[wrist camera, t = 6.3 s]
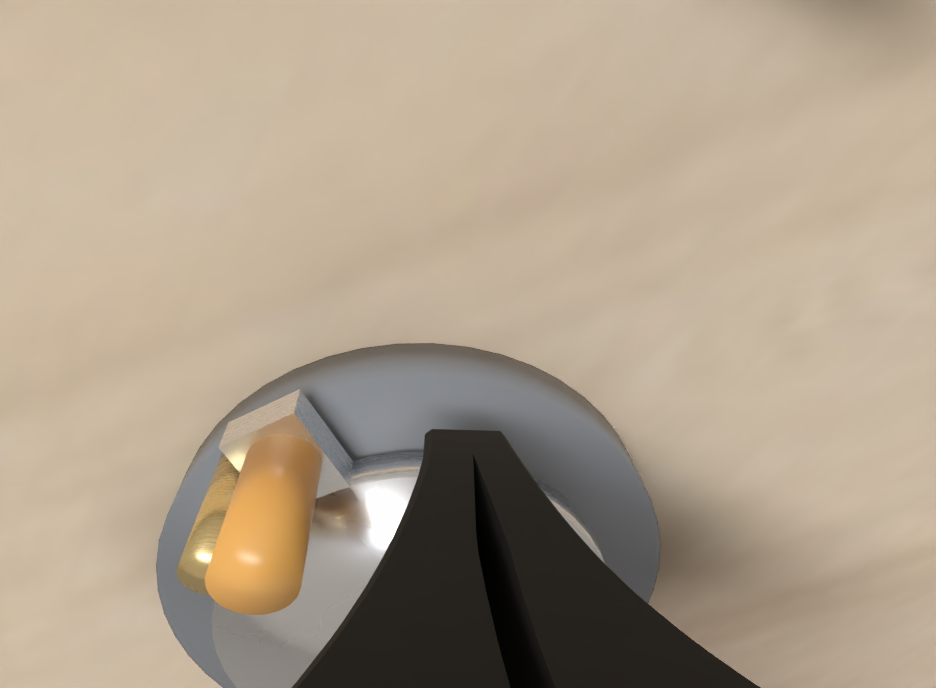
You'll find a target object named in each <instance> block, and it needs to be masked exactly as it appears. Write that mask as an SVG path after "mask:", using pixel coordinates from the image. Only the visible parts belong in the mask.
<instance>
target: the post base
mask: <svg viewBox="0 0 936 688" xmlns="http://www.w3.org/2000/svg"><path fill="white" fill-rule="evenodd" d="M299 389H301V391H302V392H303V394H304V395H305V396H306V398H307V399H308V400H309V402H310V403H311V405H312V406H313V407H314V409H315V410H316V411H317V413H318V414H319V415H320V417H321V418H322V420H323V421H324V422H325V424H326V425H327V426H328V428H329V429H330V431H331V432H332V433H333V435H334V436H335V437H336V439H337V440H338V442H339V443H340V444H341V446H342V447H343V448H344V450H345V451H346V452H347V454H348V455H349V457H350V458H351V459H352V461H356V460H360V459H363V458H367V457H372V456H379V455H385V454H392V453H400V452H423V450H424V438H425V434H426V433H427V432H428V431H430V430H431V429H451V430H487V431H501V432H502V434H503V435H504V436H505V437H506V439H507V440H508V442H509V443H510V445H511V446H512V448H513V449H514V451H515V452H516V454H517V455H518V457H519V458H520V460H521V461H522V463H523V464H524V466H525V467H526V469H527V470H528V471H529V473H530V474H531V475H532V476H534V477H535V478H537V479H539V480H540V481H542V482H544V483H545V484H547V485H549V486H550V487H552V488H553V489H555V490H556V491H557V492H558V493H559V494H561V495H562V496H563V497H564V498H566V499H567V500H568V501H569V502H570V503H571V504H572V505H573V506H574V507H575V508H576V509H577V511H578V512H579V513H580V514H581V515H582V516H583V517H584V519H585V521H586V522H587V524H588V525H589V527H590V528H591V530H592V531H593V533H594V536H595V538H596V541H597V543H598V545H599V548H600V550H601V553H602V556H603V559H604V562H605V564H606V565H607V566H608V567H609V568H610V569H611V570H612V571H613V572H614V573H615V574H616V575H617V576H618V577H619V578H620V579H621V580H622V581H623V582H624V583H625V584H626V585H627V586H628V587H629V588H630V589H632V590H633V591H634V592H635V593H636V594H637V595H638V596H639V597H641V598H642V599H643V600H644V601H645V602H646V603H647V604H648V602H649V599H650V597H651V595H652V592H653V590H654V586H655V582H656V577H657V573H658V569H659V557H660V539H659V530H658V522H657V519H656V515H655V512H654V509H653V506H652V503H651V499H650V497H649V495H648V493H647V491H646V489H645V487H644V485H643V483H642V481H641V479H640V477H639V475H638V472H637V470H636V468H635V466H634V464H633V462H632V460H631V458H630V456H629V454H628V452H627V451H626V449H625V447H624V445H623V443H622V441H621V439H620V437H619V436H618V434H617V433H616V432H615V430H614V429H613V428H612V426H611V425H610V424H609V422H608V421H607V420H606V418H605V417H604V416H603V415H602V414H601V413H600V412H599V411H598V410H597V409H596V408H595V407H594V406H593V405H592V404H591V403H590V402H589V401H587V400H586V399H585V398H584V397H583V396H582V395H580V394H579V393H577V392H576V391H575V390H573V389H572V388H570V387H569V386H568V385H566V384H565V383H563V382H562V381H560V380H559V379H557V378H555V377H553V376H551V375H549V374H547V373H545V372H543V371H541V370H539V369H537V368H536V367H534V366H531V365H529V364H526V363H523V362H520V361H518V360H515V359H512V358H509V357H507V356H504V355H501V354H496V353H492V352H487V351H483V350H479V349H474V348H470V347H462V346H452V345H443V344H433V343H432V344H393V345H385V346H377V347H369V348H361V349H357V350H353V351H349V352H345V353H341V354H337V355H333V356H329V357H326V358H323V359H320V360H318V361H315V362H313V363H310V364H307V365H305V366H302V367H299V368H297V369H294V370H292V371H290V372H289V373H287V374H285V375H283V376H281V377H279V378H277V379H275V380H273V381H272V382H270V383H268V384H266V385H264V386H263V387H262V388H260V389H259V390H257V391H256V392H255V393H253V394H252V395H250V396H249V397H248V398H246V399H245V400H243V401H242V402H241V403H239V404H238V405H237V406H236V407H235V408H234V409H233V410H232V411H231V412H230V413H229V414H228V415H227V416H226V417H224V418H223V419H222V420H221V421H220V422H219V423H218V424H217V425H216V427H215V428H214V429H213V431H212V432H211V433H210V435H209V436H208V437H207V438H206V440H205V441H204V442H203V444H202V445H201V446H200V448H199V450H198V452H197V453H196V455H195V457H194V459H193V461H192V463H191V465H190V467H189V468H188V470H187V472H186V475H185V477H184V479H183V481H182V484H181V486H180V488H179V490H178V492H177V495H176V497H175V499H174V501H173V504H172V506H171V508H170V510H169V512H168V515H167V518H166V521H165V524H164V527H163V530H162V533H161V536H160V539H159V546H158V554H157V562H156V571H157V585H158V592H159V596H160V600H161V603H162V607H163V611H164V614H165V616H166V618H167V620H168V623H169V625H170V627H171V629H172V631H173V633H174V635H175V637H176V638H177V640H178V641H179V642H180V644H181V645H182V647H183V648H184V650H185V651H186V652H187V654H188V655H189V656H190V657H191V659H192V660H193V661H194V662H195V663H196V664H197V665H198V666H199V667H200V668H201V669H202V670H203V671H204V672H205V673H206V674H207V675H208V676H209V677H211V678H212V679H213V680H214V681H216V682H217V683H218V684H219V685H221V686H222V687H223V688H236V687H235V685H234V684H233V682H232V681H231V680H230V678H229V677H228V675H227V674H226V672H225V671H224V669H223V667H222V665H221V662H220V660H219V658H218V656H217V653H216V649H215V645H214V641H213V637H212V619H211V618H212V612H213V605H214V599H213V598H212V597H211V596H210V595H209V593H208V591H207V589H206V585H205V575H206V572H207V569H208V566H209V563H210V560H211V557H212V554H213V551H214V548H215V545H216V542H217V539H218V536H219V533H220V531H221V528H222V525H223V522H224V519H225V516H226V513H227V510H228V507H229V504H230V501H231V498H232V495H233V492H234V489H235V486H236V483H237V480H238V477H239V474H240V472H239V471H238V470H237V469H236V468H235V466H234V465H233V464H232V463H231V462H230V461H229V459H228V458H227V457H226V456H225V455H224V454H223V452H222V451H221V450H220V449H219V448H218V447H219V445H220V442H221V440H222V437H223V435H224V432H225V430H226V428H227V425H228V423H229V422H230V421H233V420H235V419H237V418H239V417H241V416H243V415H245V414H248V413H250V412H252V411H254V410H256V409H258V408H260V407H263V406H265V405H267V404H269V403H271V402H273V401H275V400H278V399H280V398H282V397H284V396H286V395H288V394H290V393H293V392H295V391H297V390H299Z"/></svg>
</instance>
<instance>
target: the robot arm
mask: <svg viewBox="0 0 936 688" xmlns="http://www.w3.org/2000/svg"><path fill="white" fill-rule="evenodd" d="M292 688H760V687H758V686H757V685H755V684H754V683H752V682H751V681H749V680H748V679H746V678H745V677H744V676H742V675H741V674H739V673H738V672H736V671H735V670H734V669H732V668H731V667H729V666H728V665H726V664H725V663H724V662H722V661H721V660H719V659H718V658H716V657H715V656H714V655H712V654H711V653H709V652H708V651H707V650H705V649H704V648H703V647H701V646H700V645H699V644H697V643H696V642H695V641H693V640H692V639H691V638H689V637H688V636H687V635H685V634H684V633H683V632H682V631H680V630H679V629H678V628H677V627H675V626H674V625H673V624H672V623H671V622H669V621H668V620H667V619H666V618H664V617H663V616H662V615H661V614H659V613H658V612H657V611H656V610H655V609H653V608H652V607H651V606H650V605H649V604H647V603H646V602H645V601H644V600H643V599H642V598H641V597H639V596H638V595H637V594H636V593H635V592H634V591H633V590H632V589H630V588H629V587H628V586H627V585H626V584H625V583H624V582H623V581H622V580H621V579H620V578H619V577H618V576H617V575H616V574H615V573H614V572H613V571H612V570H611V569H610V568H609V567H608V566H607V565H606V564H605V563H604V562H603V561H602V560H601V559H600V558H599V557H598V556H597V555H596V554H595V553H594V552H593V551H592V550H591V549H590V547H589V546H588V545H587V544H586V543H585V542H584V541H583V540H582V538H581V537H580V536H579V535H578V534H577V533H576V532H575V530H574V529H573V528H572V527H571V526H570V525H569V523H568V522H567V521H566V520H565V519H564V517H563V516H562V515H561V514H560V512H559V511H558V510H557V509H556V507H555V506H554V505H553V503H552V502H551V501H550V500H549V498H548V497H547V496H546V495H545V493H544V492H543V491H542V489H541V488H540V487H539V485H538V484H537V483H536V481H535V480H534V478H533V477H532V476H531V474H530V473H529V471H528V470H527V469H526V467H525V466H524V464H523V463H522V461H521V460H520V458H519V457H518V455H517V454H516V452H515V451H514V449H513V448H512V446H511V445H510V443H509V442H508V440H507V439H506V437H505V436H504V435H503V434H502V432H501V431H487V430H451V429H431V430H430V431H428V432H427V433H426V434H425V438H424V450H423V460H422V464H421V467H420V471H419V474H418V478H417V481H416V483H415V486H414V489H413V492H412V494H411V497H410V500H409V502H408V505H407V508H406V510H405V512H404V514H403V517H402V519H401V521H400V523H399V525H398V527H397V529H396V532H395V534H394V536H393V538H392V540H391V542H390V544H389V546H388V548H387V550H386V552H385V554H384V556H383V558H382V559H381V561H380V563H379V565H378V567H377V568H376V570H375V572H374V573H373V575H372V577H371V578H370V580H369V582H368V584H367V585H366V587H365V588H364V590H363V592H362V593H361V595H360V596H359V598H358V599H357V601H356V602H355V604H354V605H353V607H352V608H351V610H350V611H349V613H348V614H347V616H346V618H345V619H344V620H343V622H342V623H341V625H340V626H339V627H338V629H337V630H336V632H335V633H334V634H333V636H332V637H331V639H330V640H329V641H328V642H327V644H326V645H325V646H324V647H323V649H322V650H321V651H320V653H319V654H318V655H317V656H316V658H315V659H314V660H313V661H312V663H311V664H310V665H309V667H308V668H307V669H306V670H305V672H304V673H303V674H302V675H301V677H300V678H299V679H298V680H297V682H296V683H295V684H294V685H293V686H292Z"/></svg>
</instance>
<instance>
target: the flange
mask: <svg viewBox="0 0 936 688" xmlns="http://www.w3.org/2000/svg"><path fill="white" fill-rule="evenodd" d="M218 448H219V449H220V450H221V451H222V452H223V454H224V455H225V456H226V457H227V458H228V459H229V461H230V462H231V463H232V464H233V465H234V466H235V468H236V469H237V470H238V471H239V472H240V474H239V477H238V480H237V483H236V486H235V489H234V492H233V495H232V498H231V501H230V504H229V507H228V510H227V513H226V516H225V519H224V522H223V525H222V528H221V531H220V533H219V536H218V539H217V542H216V545H215V548H214V551H213V554H212V557H211V560H210V563H209V566H208V569H207V572H206V575H205V585H206V589H207V591H208V593H209V595H210V596H211V597H212V598H213V599H214V605H213V612H212V618H211V619H212V637H213V641H214V645H215V649H216V653H217V656H218V658H219V660H220V662H221V665H222V667H223V669H224V671H225V672H226V674H227V675H228V677H229V678H230V680H231V681H232V682H233V684H234V685H235V687H236V688H292V686H293V685H294V684H295V683H296V682H297V680H298V679H299V678H300V677H301V675H302V674H303V673H304V672H305V670H306V669H307V668H308V667H309V665H310V664H311V663H312V661H313V660H314V659H315V658H316V656H317V655H318V654H319V653H320V651H321V650H322V649H323V647H324V646H325V645H326V644H327V642H328V641H329V640H330V639H331V637H332V636H333V634H334V633H335V632H336V630H337V629H338V627H339V626H340V625H341V623H342V622H343V620H344V619H345V618H346V616H347V614H348V613H349V611H350V610H351V608H352V607H353V605H354V604H355V602H356V601H357V599H358V598H359V596H360V595H361V593H362V592H363V590H364V588H365V587H366V585H367V584H368V582H369V580H370V578H371V577H372V575H373V573H374V572H375V570H376V568H377V567H378V565H379V563H380V561H381V559H382V558H383V556H384V554H385V552H386V550H387V548H388V546H389V544H390V542H391V540H392V538H393V536H394V534H395V532H396V529H397V527H398V525H399V523H400V521H401V519H402V517H403V514H404V512H405V510H406V508H407V505H408V502H409V500H410V497H411V494H412V492H413V489H414V486H415V483H416V481H417V478H418V474H419V471H420V467H421V464H422V460H423V452H400V453H392V454H385V455H379V456H372V457H367V458H363V459H360V460H356V461H352V459H351V458H350V457H349V455H348V454H347V452H346V451H345V450H344V448H343V447H342V446H341V444H340V443H339V442H338V440H337V439H336V437H335V436H334V435H333V433H332V432H331V431H330V429H329V428H328V426H327V425H326V424H325V422H324V421H323V420H322V418H321V417H320V415H319V414H318V413H317V411H316V410H315V409H314V407H313V406H312V405H311V403H310V402H309V400H308V399H307V398H306V396H305V395H304V394H303V392H302V391H301V389H299V390H297V391H295V392H293V393H290V394H288V395H286V396H284V397H282V398H280V399H278V400H275V401H273V402H271V403H269V404H267V405H265V406H263V407H260V408H258V409H256V410H254V411H252V412H250V413H248V414H245V415H243V416H241V417H239V418H237V419H235V420H233V421H230V422H229V423H228V425H227V428H226V430H225V432H224V435H223V437H222V440H221V442H220V445H219V447H218ZM531 476H532V475H531ZM532 477H533V478H534V480H535V481H536V483H537V484H538V485H539V487H540V488H541V489H542V491H543V492H544V493H545V495H546V496H547V497H548V498H549V500H550V501H551V502H552V503H553V505H554V506H555V507H556V509H557V510H558V511H559V512H560V514H561V515H562V516H563V517H564V519H565V520H566V521H567V522H568V523H569V525H570V526H571V527H572V528H573V529H574V530H575V532H576V533H577V534H578V535H579V536H580V537H581V538H582V540H583V541H584V542H585V543H586V544H587V545H588V546H589V547H590V549H591V550H592V551H593V552H594V553H595V554H596V555H597V556H598V557H599V558H600V559H601V560H602V561H603V562H604V559H603V556H602V553H601V550H600V548H599V545H598V543H597V541H596V538H595V536H594V533H593V531H592V530H591V528H590V527H589V525H588V524H587V522H586V521H585V519H584V517H583V516H582V515H581V514H580V513H579V512H578V511H577V509H576V508H575V507H574V506H573V505H572V504H571V503H570V502H569V501H568V500H567V499H566V498H564V497H563V496H562V495H561V494H559V493H558V492H557V491H556V490H555V489H553V488H552V487H550V486H549V485H547V484H545V483H544V482H542V481H540V480H539V479H537V478H535V477H534V476H532ZM604 563H605V562H604Z"/></svg>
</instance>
